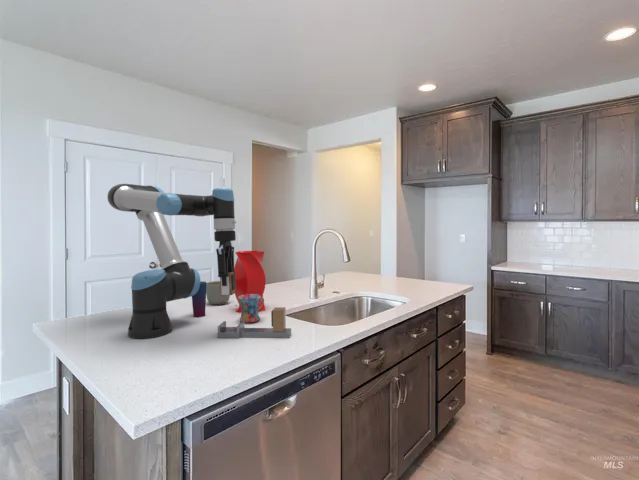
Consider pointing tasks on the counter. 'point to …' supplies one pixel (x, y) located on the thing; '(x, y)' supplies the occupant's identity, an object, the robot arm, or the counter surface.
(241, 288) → the vase
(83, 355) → the counter surface
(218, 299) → the planter
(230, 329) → the rail
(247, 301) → the mug
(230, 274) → the block
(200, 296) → the cup
